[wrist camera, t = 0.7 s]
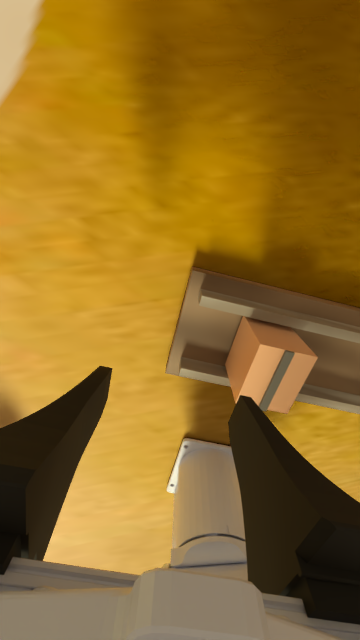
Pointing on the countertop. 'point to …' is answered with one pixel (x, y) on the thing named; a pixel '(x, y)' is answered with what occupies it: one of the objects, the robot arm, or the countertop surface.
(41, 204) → the countertop surface
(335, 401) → the fader board
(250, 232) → the countertop surface
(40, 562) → the robot arm
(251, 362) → the fader knob
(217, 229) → the countertop surface
